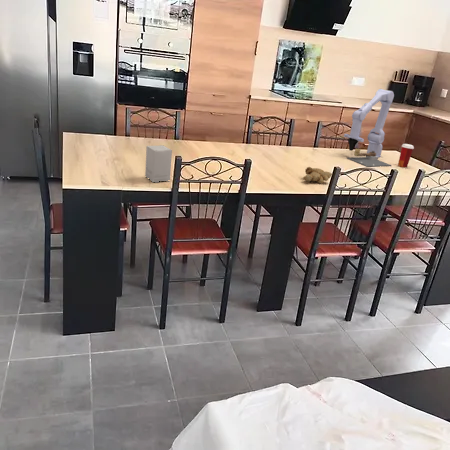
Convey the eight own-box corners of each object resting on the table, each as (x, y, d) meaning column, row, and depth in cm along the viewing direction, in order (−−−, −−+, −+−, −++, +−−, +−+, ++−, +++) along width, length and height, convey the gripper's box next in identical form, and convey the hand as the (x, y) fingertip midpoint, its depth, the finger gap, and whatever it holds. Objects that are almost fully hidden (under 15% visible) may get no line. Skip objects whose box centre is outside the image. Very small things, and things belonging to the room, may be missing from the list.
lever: (372, 154, 299) (373, 147, 298) (377, 156, 296) (378, 149, 294) (352, 154, 291) (353, 148, 289) (356, 156, 288) (358, 149, 286)
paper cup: (408, 166, 293) (414, 145, 287) (408, 168, 286) (414, 147, 281) (396, 163, 295) (401, 142, 289) (396, 166, 288) (401, 145, 283)
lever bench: (370, 157, 302) (371, 154, 301) (391, 166, 287) (392, 162, 286) (346, 158, 293) (347, 154, 292) (367, 166, 278) (368, 162, 276)
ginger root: (326, 174, 244) (329, 161, 240) (331, 190, 232) (335, 177, 227) (297, 172, 244) (300, 159, 239) (301, 188, 231) (304, 175, 226)
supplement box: (170, 181, 207) (172, 150, 201) (152, 183, 202) (154, 150, 196) (162, 175, 214) (164, 144, 208) (144, 177, 209) (146, 145, 203)
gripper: (342, 127, 292) (338, 147, 297) (361, 132, 281) (356, 153, 287) (349, 127, 296) (345, 147, 301) (367, 132, 286) (362, 152, 291)
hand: (350, 150), depth 294 cm, fingers closed
